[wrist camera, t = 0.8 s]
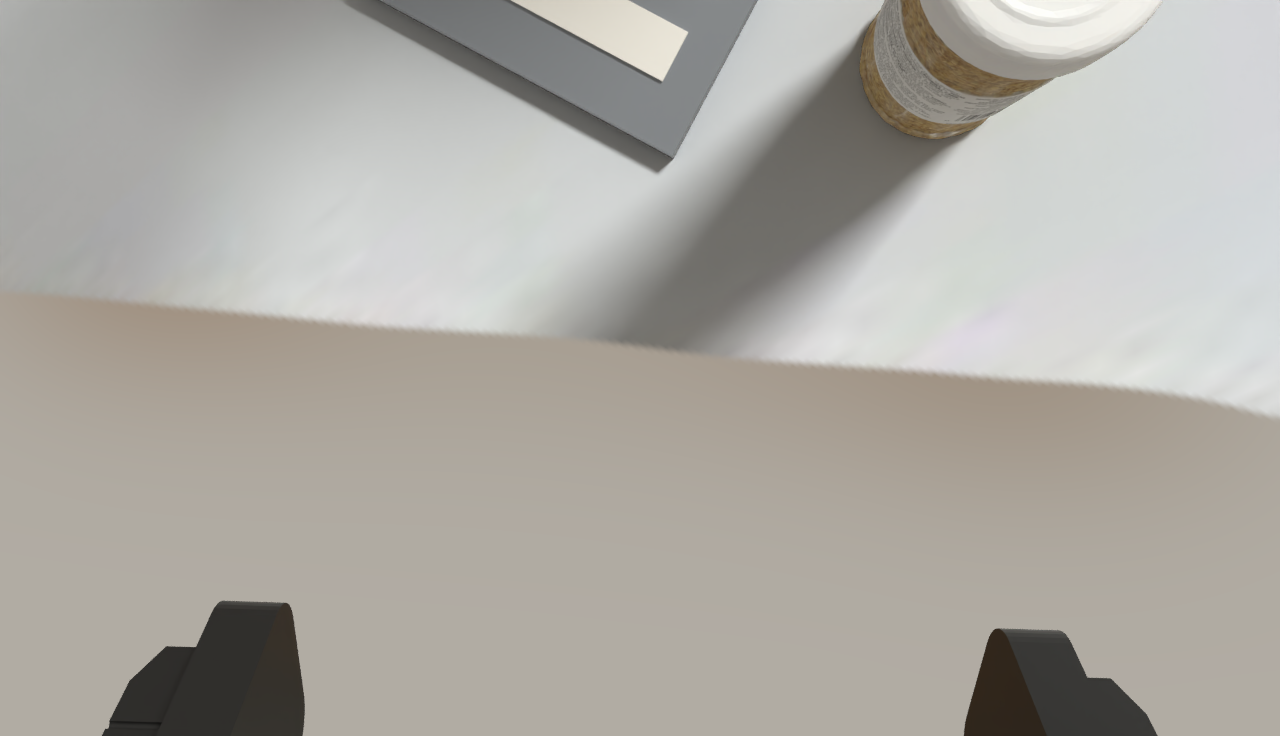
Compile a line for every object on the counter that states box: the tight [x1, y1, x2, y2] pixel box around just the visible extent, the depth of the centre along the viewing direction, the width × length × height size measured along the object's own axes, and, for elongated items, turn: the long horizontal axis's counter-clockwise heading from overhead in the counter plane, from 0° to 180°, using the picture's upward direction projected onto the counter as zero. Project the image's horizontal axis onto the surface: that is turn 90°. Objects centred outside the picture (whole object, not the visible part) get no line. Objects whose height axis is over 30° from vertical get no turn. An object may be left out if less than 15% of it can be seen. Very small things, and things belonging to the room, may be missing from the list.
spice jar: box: [860, 0, 1163, 139], centre depth 27 cm, size 5×5×14 cm
